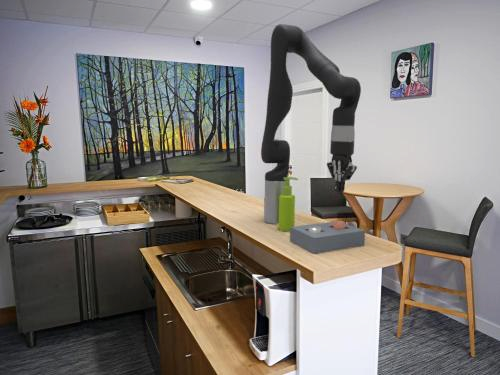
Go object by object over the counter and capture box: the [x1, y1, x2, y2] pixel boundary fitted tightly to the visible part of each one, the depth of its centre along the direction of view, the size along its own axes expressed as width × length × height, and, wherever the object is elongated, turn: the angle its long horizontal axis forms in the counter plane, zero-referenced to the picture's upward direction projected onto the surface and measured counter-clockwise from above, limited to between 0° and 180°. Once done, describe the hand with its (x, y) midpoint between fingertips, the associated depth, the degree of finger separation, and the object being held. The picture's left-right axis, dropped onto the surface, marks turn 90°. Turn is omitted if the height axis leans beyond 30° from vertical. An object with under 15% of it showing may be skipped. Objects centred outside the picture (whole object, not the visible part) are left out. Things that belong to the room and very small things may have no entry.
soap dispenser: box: [278, 176, 299, 233], centre depth 139 cm, size 6×7×20 cm
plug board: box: [289, 221, 366, 255], centre depth 124 cm, size 14×20×5 cm
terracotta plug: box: [332, 220, 346, 230], centre depth 126 cm, size 4×4×5 cm
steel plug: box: [308, 226, 321, 233], centre depth 122 cm, size 4×4×5 cm
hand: (339, 192), depth 124 cm, fingers closed
